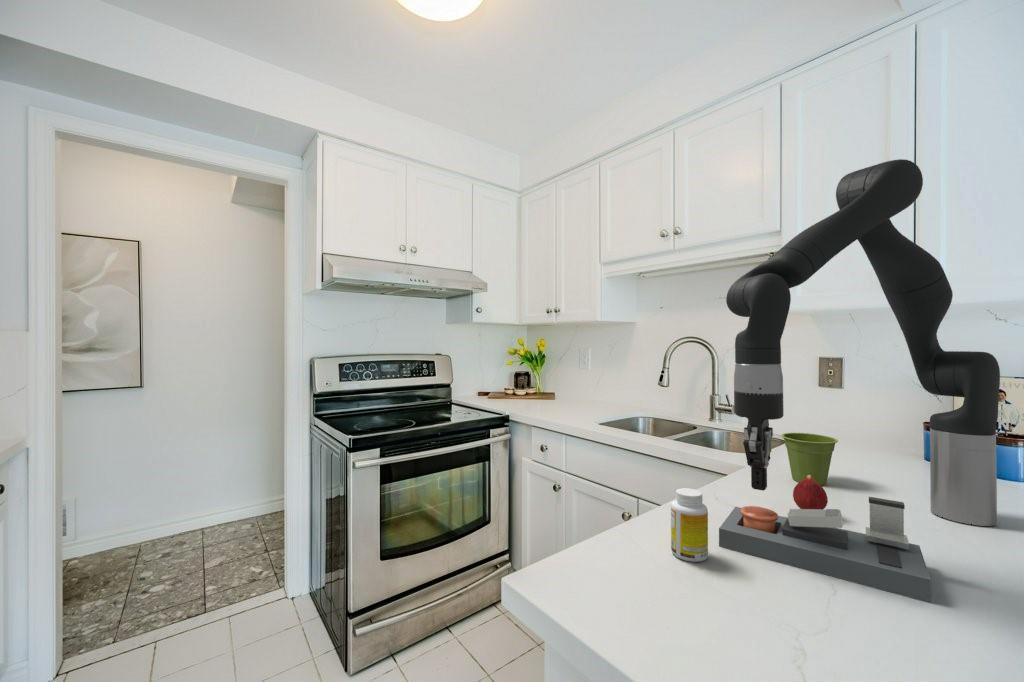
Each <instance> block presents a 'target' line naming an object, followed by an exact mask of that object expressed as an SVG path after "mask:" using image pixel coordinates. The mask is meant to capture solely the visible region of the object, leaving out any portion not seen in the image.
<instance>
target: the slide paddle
mask: <svg viewBox="0 0 1024 682" xmlns="http://www.w3.org/2000/svg"><path fill="white" fill-rule="evenodd" d="M868 503H869V527H867V526H865V534H866V540H867V541H872V542H876V543H881V544H885V545H890V546H895V547H899V548H904V549H909V539H908V536H907V534H905V527H904V526H905V525H904V524H905V519H904V518H905V516H904V515H905V514H904V513H905V512H904V510H905V502H903V501H897V500H891V499H885V498H880V497H874V496H868Z"/></svg>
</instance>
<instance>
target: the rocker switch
mask: <svg viewBox="0 0 1024 682" xmlns="http://www.w3.org/2000/svg"><path fill="white" fill-rule="evenodd" d="M787 518H788V520H789V525H790V526H803V527H829V528H840V529H843V522H844V520H843V516H842V511H841V509H838V508H825V509H800V508H790V509H789V511H788V514H787Z"/></svg>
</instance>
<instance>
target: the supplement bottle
mask: <svg viewBox="0 0 1024 682" xmlns="http://www.w3.org/2000/svg"><path fill="white" fill-rule="evenodd" d="M708 511H709V510H708V507H707V505H706V504H704V503H703V493H702V492H701V491H700V490H697V489H693V488H688V487H687V488H686V487H682V488H678V489H676V490H675V500H673V501H672V502H671V503H670V550H671V552H672V553H673V555H674V556H675V557H677V558H678V559H681V560H682V561H686V562H691V563H700V562H703V561H705V560H707V558H708V557H709V519H708V517H709V513H708Z"/></svg>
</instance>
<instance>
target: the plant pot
mask: <svg viewBox="0 0 1024 682" xmlns="http://www.w3.org/2000/svg"><path fill="white" fill-rule="evenodd" d="M781 437H782V438H783V440H784V444H785V447H786V452H787V456H788V462H789V467H790V475H791V479H792V480H793V481H795V482H797V483H799V482H801V481H803V480H805V479H806V478H807V476H808V475H811V476H812V477H813V480H814V481H815V482H817V483H818V484H820V485H821V486H824V485H825V484H827V482H828V478H829V473H830V467H831V462H832V457H833V452H834V451H835V446H836V444H837V443H838V442H839V440H838V438H835V437H831V436H828V435H822V434H815V433H808V432H807V433H804V432H785V433H781Z"/></svg>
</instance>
